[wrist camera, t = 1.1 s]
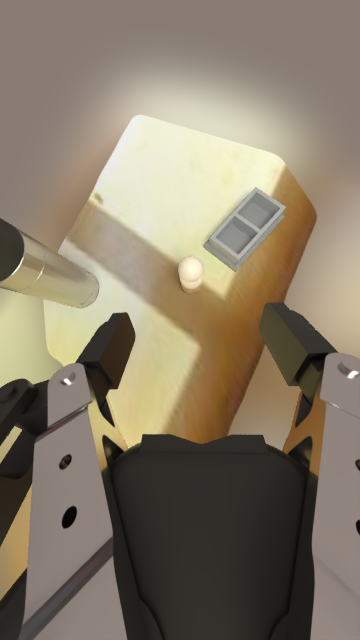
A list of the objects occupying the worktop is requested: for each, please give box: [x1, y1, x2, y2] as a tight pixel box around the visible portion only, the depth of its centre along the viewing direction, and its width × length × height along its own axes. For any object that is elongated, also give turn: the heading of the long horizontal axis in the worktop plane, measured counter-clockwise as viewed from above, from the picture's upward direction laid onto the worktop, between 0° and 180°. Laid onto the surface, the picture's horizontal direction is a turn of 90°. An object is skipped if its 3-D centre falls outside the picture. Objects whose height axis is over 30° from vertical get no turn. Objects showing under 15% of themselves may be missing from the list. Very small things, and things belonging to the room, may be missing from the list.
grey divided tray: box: [204, 187, 286, 272], centre depth 35 cm, size 10×17×4 cm, turn 138°
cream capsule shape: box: [178, 256, 204, 294], centre depth 32 cm, size 5×5×10 cm
